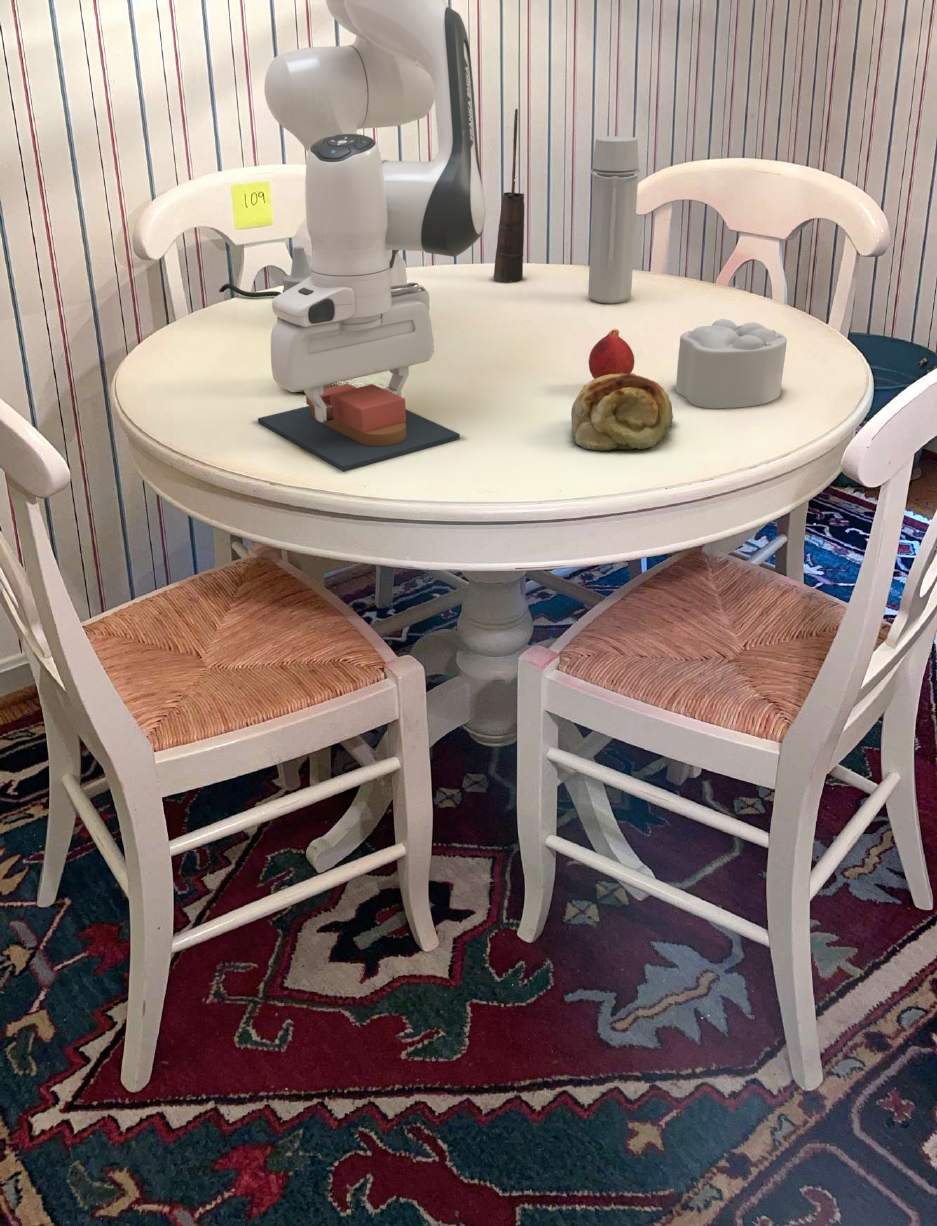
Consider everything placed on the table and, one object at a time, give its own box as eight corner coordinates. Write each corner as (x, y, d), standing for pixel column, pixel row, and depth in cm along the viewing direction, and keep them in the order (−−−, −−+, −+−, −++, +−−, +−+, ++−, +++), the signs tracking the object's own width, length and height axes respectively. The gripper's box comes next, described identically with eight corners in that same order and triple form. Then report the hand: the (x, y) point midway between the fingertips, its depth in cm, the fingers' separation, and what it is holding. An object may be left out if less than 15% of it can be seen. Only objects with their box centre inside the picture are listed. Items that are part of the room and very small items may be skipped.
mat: (258, 422, 136) (257, 418, 136) (368, 395, 145) (367, 391, 144) (343, 471, 122) (343, 466, 122) (459, 438, 131) (459, 433, 130)
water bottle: (586, 293, 190) (593, 135, 178) (633, 294, 189) (642, 135, 177) (584, 307, 182) (590, 143, 170) (632, 308, 181) (642, 143, 169)
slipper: (302, 413, 137) (299, 379, 135) (344, 403, 140) (341, 370, 138) (373, 450, 126) (371, 414, 124) (416, 438, 129) (415, 402, 127)
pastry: (597, 461, 124) (601, 392, 120) (546, 426, 134) (548, 361, 130) (704, 442, 129) (710, 374, 125) (647, 409, 139) (651, 346, 135)
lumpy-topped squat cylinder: (668, 385, 147) (673, 319, 143) (759, 377, 149) (767, 312, 145) (699, 410, 138) (706, 341, 134) (796, 402, 140) (805, 334, 136)
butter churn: (519, 289, 194) (521, 113, 180) (472, 283, 198) (470, 111, 184) (543, 278, 200) (547, 108, 187) (497, 272, 205) (497, 106, 191)
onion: (603, 399, 142) (606, 337, 138) (579, 387, 147) (581, 326, 143) (640, 392, 144) (644, 331, 141) (615, 380, 149) (619, 320, 145)
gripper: (412, 274, 132) (416, 387, 139) (258, 302, 122) (270, 422, 128) (443, 284, 128) (446, 400, 135) (286, 314, 117) (297, 438, 124)
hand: (359, 411), depth 132 cm, fingers open, 8 cm apart
